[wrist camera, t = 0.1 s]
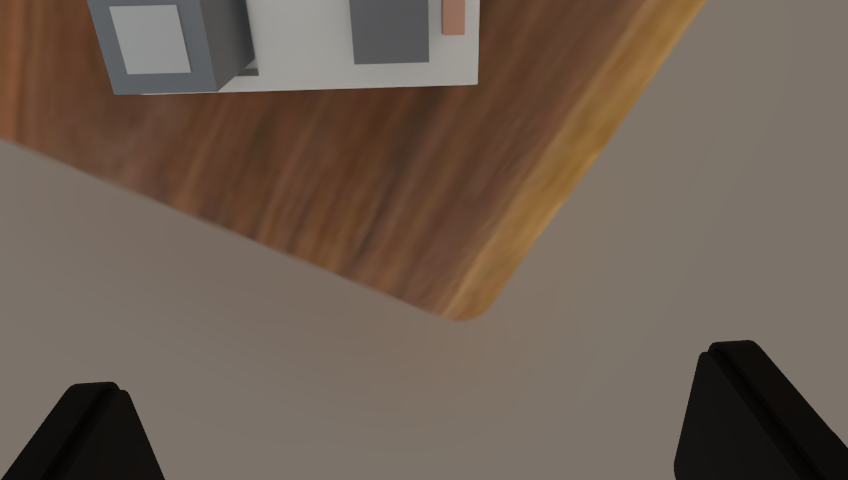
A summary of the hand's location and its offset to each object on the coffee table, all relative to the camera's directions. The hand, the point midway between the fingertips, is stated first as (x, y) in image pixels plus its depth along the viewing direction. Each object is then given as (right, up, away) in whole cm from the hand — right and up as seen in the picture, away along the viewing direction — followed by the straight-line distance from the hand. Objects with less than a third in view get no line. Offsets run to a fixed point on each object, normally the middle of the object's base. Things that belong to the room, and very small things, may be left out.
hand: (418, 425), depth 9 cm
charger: (-13, +16, +24) cm, 32 cm away
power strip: (-7, +19, +25) cm, 32 cm away
